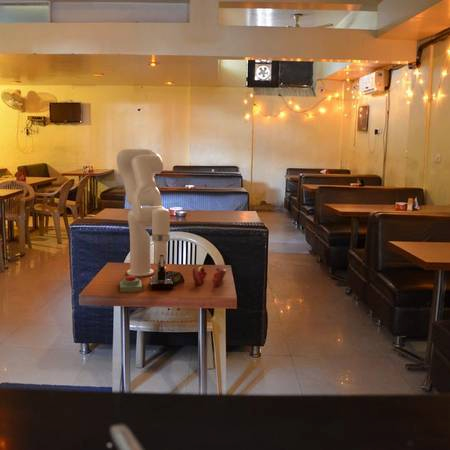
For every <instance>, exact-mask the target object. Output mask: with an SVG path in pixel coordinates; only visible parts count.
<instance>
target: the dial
mask: <svg viewBox="0 0 450 450" xmlns="http://www.w3.org/2000/svg"><path fill="white" fill-rule="evenodd" d="M166 276H167V267H166V266H165V280H166ZM155 277H156V281H165V280H158V267H157V266H156V267H155Z"/></svg>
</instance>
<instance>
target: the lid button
mask: <svg viewBox="0 0 450 450" xmlns="http://www.w3.org/2000/svg"><path fill="white" fill-rule="evenodd" d="M125 278H126V281H135V278H136V276H133V275H126V276H125Z"/></svg>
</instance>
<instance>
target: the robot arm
mask: <svg viewBox="0 0 450 450" xmlns="http://www.w3.org/2000/svg"><path fill="white" fill-rule="evenodd" d="M163 161H164V160H163V159H162V157H161V155H159V154H158V153H157V152H155V150H152V149H149V148H144V149H143V148H125V149H122V150H120V151H118V152H117V154H116V167H117V169H118V172H119V175H120V176H121V178H122V181H123V186H124V191H125V197H126V200H127V203H128V205H129V206H131V209H130V210H129V211H128V213H127V223H128V229H129V254H130V255H129V266H130V267H129V269H128V270H127V271H126V274H127V276H129V275H133V276H135V277H137V278H139V277H148V276H149V277H150V276H152V275H153V274H154V273H155V270H154V269H153V268H151V242H153V243H154V245H153V262H154V265H155V266H156V267H158V280H165V267H166V264H167V261H168V260H167V259H168V243H169V242H170V240H171V239H170V237H171V236H170V235H171V234H170V233H171V229H170V228H171V227H170V226H171V221H170V220H171V218H170V216H171V215H170V214H171V213H170V212H171V211H170V210H169V209H168V208H165V207H164V205H163V201H162V195H161V192H160V190H159V188H158V187H157V183H156V179H155V175H154V174H160V173H162V171H163V170H164V162H163ZM147 228H151V235H150V233H149V232H148V231H147V230H146V229H147Z"/></svg>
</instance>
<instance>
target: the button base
mask: <svg viewBox="0 0 450 450" xmlns="http://www.w3.org/2000/svg"><path fill="white" fill-rule="evenodd" d="M142 291H143V286H142V280H141V279H139V277H135V281H126V277H124V278H122V280H119V292H120V293H134V292H135V293H139V292H142Z"/></svg>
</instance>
